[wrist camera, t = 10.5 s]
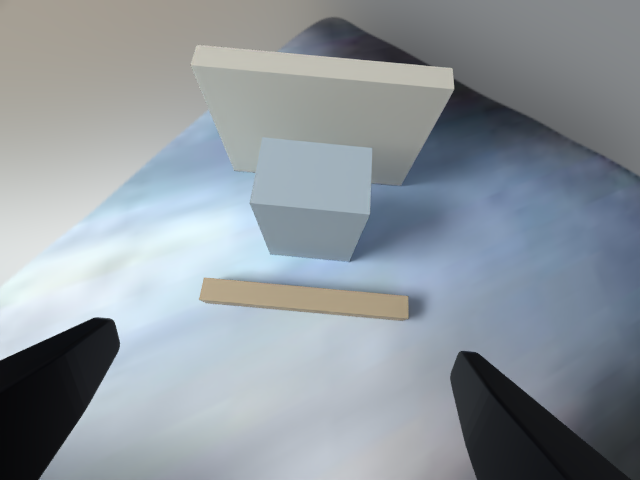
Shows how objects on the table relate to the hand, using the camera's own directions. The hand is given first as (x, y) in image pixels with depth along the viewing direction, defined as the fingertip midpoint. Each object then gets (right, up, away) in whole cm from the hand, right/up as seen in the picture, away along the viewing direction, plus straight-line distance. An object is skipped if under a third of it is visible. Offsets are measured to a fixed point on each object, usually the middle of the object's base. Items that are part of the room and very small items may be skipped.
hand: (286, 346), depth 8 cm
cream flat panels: (0, +3, +16) cm, 16 cm away
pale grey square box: (0, +3, +16) cm, 16 cm away
